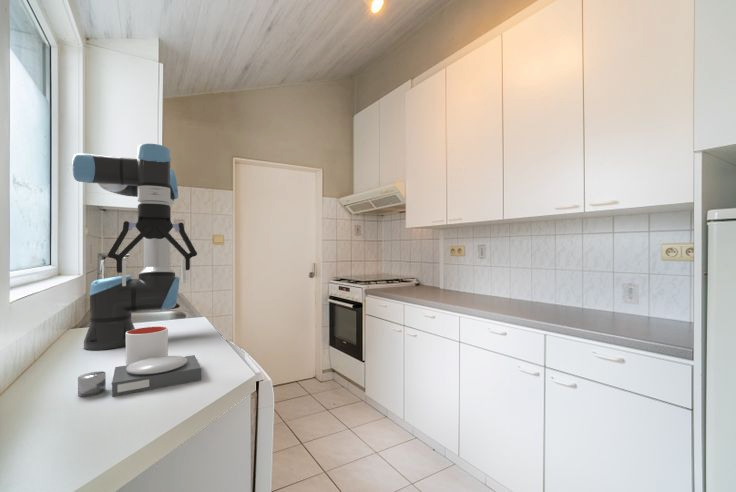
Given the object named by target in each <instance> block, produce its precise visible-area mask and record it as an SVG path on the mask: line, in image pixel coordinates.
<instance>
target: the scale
mask: <svg viewBox="0 0 736 492" xmlns="http://www.w3.org/2000/svg"><path fill="white" fill-rule="evenodd" d="M197 381H202V367H201V365H200V363H199V361H198V359H197V358H196V356H195V355H187V356H182V355H168V356H161V357H154V358H148V359H144V360H141V361H137V362H135V363H132V364H130V365H126V364H125V365H119V366H115V368H114V372H113V377H112V380H111V397H117V396H123V395H128V394H132V393H139V392H143V391H144V390H145V391H150V390H155V388H156V389H159V388H160V387H161V388H166V387H170V386H171V385H172V386H176V385H181V384H187V383H192V382H197ZM145 391H144V392H145Z"/></svg>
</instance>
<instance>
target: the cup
mask: <svg viewBox="0 0 736 492" xmlns="http://www.w3.org/2000/svg"><path fill="white" fill-rule="evenodd" d="M168 330H169V328H168V327H166V326H146V327H145V326H144V327H138V328H135V329H133V330H130V331H127V332H126V346H125V366H126V365H130V364H132V363H135V362H137V361H141V360H144V359H148V358H154V357H161V356H169V340H168V339H169V331H168Z"/></svg>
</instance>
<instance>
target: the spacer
mask: <svg viewBox="0 0 736 492" xmlns="http://www.w3.org/2000/svg"><path fill="white" fill-rule="evenodd" d="M106 374H107V373H106V371H92V372H87V373H84V374H80V375H79V376H78V377H77V397H79V398H87V397H89V398H90V397H94V396H97V395H98V396H99V395H100V394H103V393H105V392H106V389H107V388H106V387H107V386H106V382H107V379H106V378H107V376H106Z"/></svg>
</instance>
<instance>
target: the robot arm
mask: <svg viewBox="0 0 736 492" xmlns="http://www.w3.org/2000/svg"><path fill="white" fill-rule="evenodd" d="M171 160H172V159H171V151H170V149H169V148H168V146H164V145H161V144H156V143H142V144H139V145H138V146H137V154H136V158H130V157H117V156H108V155H99V154H92V153H75V154H74V155H73V157H72V162H71V163H72V166H71V167H72V175H73V179H74V180H75V181H77V182H79V183H87V184H97V185H99V187H100V188H102V189H103V190H104V191H107V192H110V193H113V194H117V195H120V196H125V197H132V198H133V197H136V198H137V202H138V203H139V204H138V205H137V222H130V221H127V220H125V221H124V222H123V224H122V225H123V226H122V229H121V232H120V234H119V235H118V237H117V238H116V239H115V242H114V243H113V245H112V246H111V249H110V250H109V252H108V253H107V257H108V258H110V259H114V260H115V261H116V273H117V274H120V273H121V275H118V276H113V277H106V278H100V279H95V280H93V281H92V282H91V283H90V289H89V304H90V305H89V313H90V314H89V318H90V319H89V326H88V329H87V332H86V334H85V336H84V340H83V349H84V350H87V351H101V350H111V349H116V348H117V349H118V348H122V347H126V332H127V331H130V330H133V329H136V328H135V325H134V323H133V320H132V313H135V312H136V313H138V312H149V311H150V312H151V311H162V310H170V309H173V308H175V307H176V304H177V301H178V295H179V290H180V289H179V287H180V282H181V283H182V284H186V283H187V282H186V280H187V279H186V276H187V275H186V274H187V273H186V271H190V269H191V258H194V257H196V256H197V255H198V252H197V250H196V249H195V247H194V245H193V243H192V242H191V240H190V238H189V236H188V234H187V232H186V230H185V224H184V223H183V222H179V223H173V222H172V221H171V217H172V215H171V208H172V205H173V204H175V200H177V199H179V189H178V181H177V175H176V173H175V171H174V169H171ZM134 228H136V229H137V231H138V232H139V234H138V235H137V236H136V237H135V238H133V240H132V241H130V243H129V244H128V245H126V246H125V248H123V250H122V251H121V252H120V253H118V254H117V253H116V252H118V249H119V248H120V246H121V245H122V244H123V242H124V239H125V238H126V236H127V234H128V233H129V231H132V230H133V229H134ZM172 229H175V231H177V232H178V233H179V235H180V237H181V238H182V240H183V242H184V244H185V246H186V248H187V249H188V251H189V252H187V251H186V250H185V248H183V247H182V246H181V244H180V243H179V242H178V241H177V240H176V239H175V238H174V237H173V236H172V235H171V230H172ZM142 239H143V269H142V270H141V271H140V272H139V273H138V278H133V277H132V276H131V274H127V268H126V267H127V259H123V258H124V257H126V256H127V254H128V253H129V252H130V251H132V250H133V248H134V247H135V246H137V245H138V244H139V242H141V240H142ZM171 245H172V246H173V247H174V248H175V249H176V250H177V251H178V252H179V254H181V255H182V256H183V258H181V260H180V261H181V263H180V264H181V266H180V267H181V273H180V275H181V276H180V277H181V281H180V277H179V276H176V272H175V271H174V270H173V269H172V268H171Z"/></svg>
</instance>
